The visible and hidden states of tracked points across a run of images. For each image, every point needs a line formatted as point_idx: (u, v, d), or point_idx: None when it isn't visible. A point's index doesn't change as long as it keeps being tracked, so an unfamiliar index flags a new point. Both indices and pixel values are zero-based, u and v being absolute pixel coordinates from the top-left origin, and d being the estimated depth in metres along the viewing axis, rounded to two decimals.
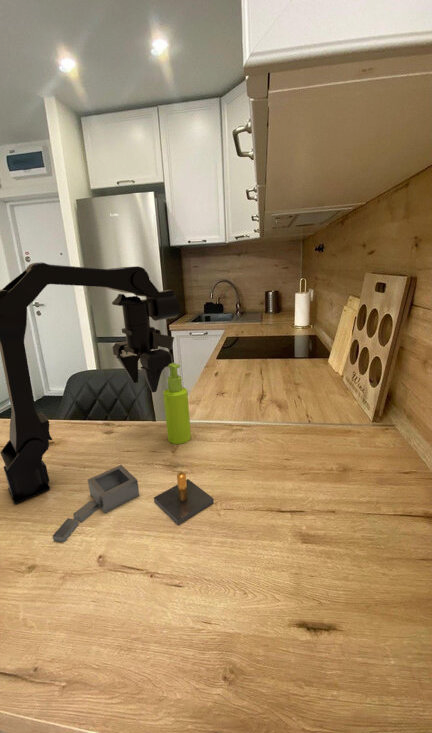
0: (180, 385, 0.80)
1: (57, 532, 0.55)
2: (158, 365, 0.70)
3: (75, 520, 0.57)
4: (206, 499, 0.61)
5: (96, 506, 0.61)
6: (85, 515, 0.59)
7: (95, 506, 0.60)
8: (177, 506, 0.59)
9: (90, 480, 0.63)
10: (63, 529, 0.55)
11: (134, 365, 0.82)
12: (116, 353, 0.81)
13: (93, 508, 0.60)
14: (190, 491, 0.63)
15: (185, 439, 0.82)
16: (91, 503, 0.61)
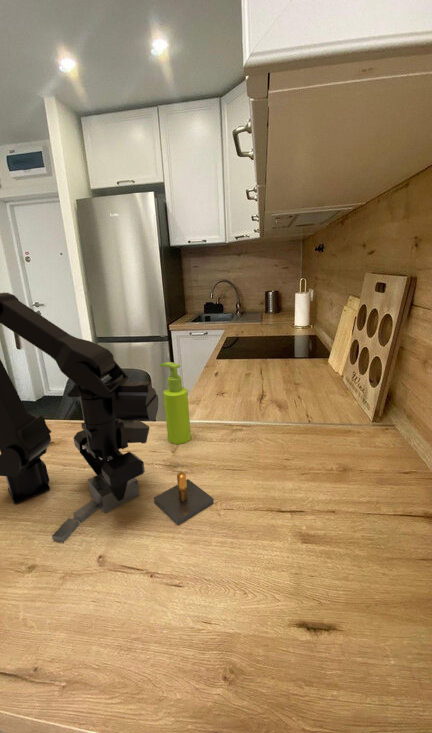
0: (180, 385, 0.80)
1: (57, 532, 0.55)
2: (124, 480, 0.54)
3: (75, 520, 0.57)
4: (206, 499, 0.61)
5: (96, 507, 0.61)
6: (85, 515, 0.59)
7: (95, 506, 0.60)
8: (177, 506, 0.59)
9: (90, 480, 0.63)
10: (63, 529, 0.55)
11: (102, 461, 0.66)
12: (77, 447, 0.65)
13: (93, 508, 0.60)
14: (190, 491, 0.63)
15: (185, 439, 0.82)
16: (91, 503, 0.61)
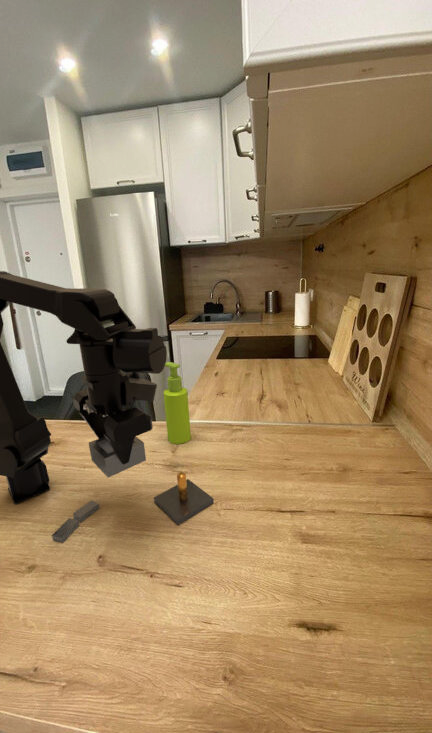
0: (180, 385, 0.80)
1: (57, 532, 0.55)
2: (130, 436, 0.48)
3: (76, 521, 0.57)
4: (206, 499, 0.61)
5: (96, 507, 0.60)
6: (84, 515, 0.59)
7: (95, 506, 0.60)
8: (177, 506, 0.59)
9: (91, 443, 0.57)
10: (63, 529, 0.55)
11: None
12: (77, 407, 0.58)
13: (93, 508, 0.60)
14: (190, 491, 0.63)
15: (185, 439, 0.82)
16: (91, 503, 0.61)
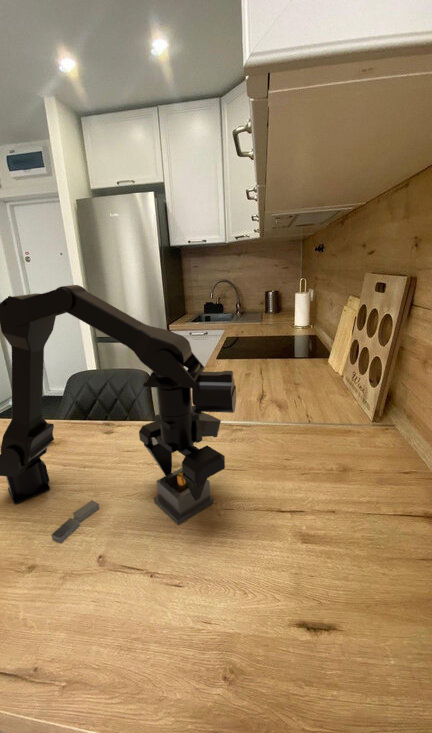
0: None
1: (56, 531, 0.55)
2: (208, 475, 0.51)
3: (76, 521, 0.57)
4: None
5: (96, 507, 0.60)
6: (84, 515, 0.59)
7: (95, 507, 0.60)
8: None
9: (159, 481, 0.61)
10: (63, 529, 0.55)
11: (167, 454, 0.63)
12: (144, 441, 0.61)
13: (93, 509, 0.60)
14: None
15: None
16: (92, 503, 0.61)
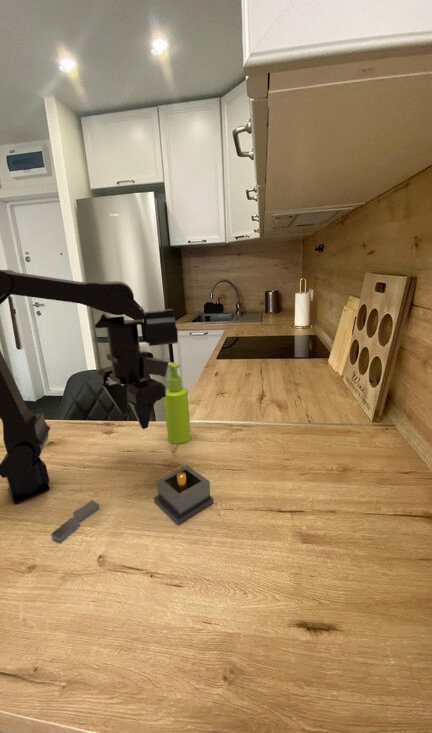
0: (180, 385, 0.80)
1: (56, 531, 0.55)
2: (149, 400, 0.59)
3: (76, 521, 0.57)
4: None
5: (96, 507, 0.60)
6: (84, 515, 0.58)
7: (95, 507, 0.60)
8: None
9: (159, 481, 0.61)
10: (62, 529, 0.55)
11: (122, 394, 0.71)
12: (101, 381, 0.69)
13: (93, 509, 0.60)
14: None
15: (185, 439, 0.82)
16: (92, 503, 0.61)
